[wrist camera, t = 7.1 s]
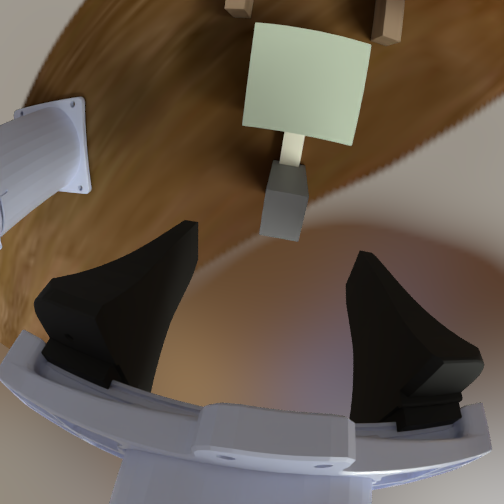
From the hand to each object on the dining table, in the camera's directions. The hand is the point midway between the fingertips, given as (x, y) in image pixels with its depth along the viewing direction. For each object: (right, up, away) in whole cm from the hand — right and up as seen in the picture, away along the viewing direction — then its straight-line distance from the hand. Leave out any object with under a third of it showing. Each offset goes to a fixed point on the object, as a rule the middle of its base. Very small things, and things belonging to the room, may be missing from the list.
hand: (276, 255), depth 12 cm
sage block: (+2, +8, +3) cm, 9 cm away
